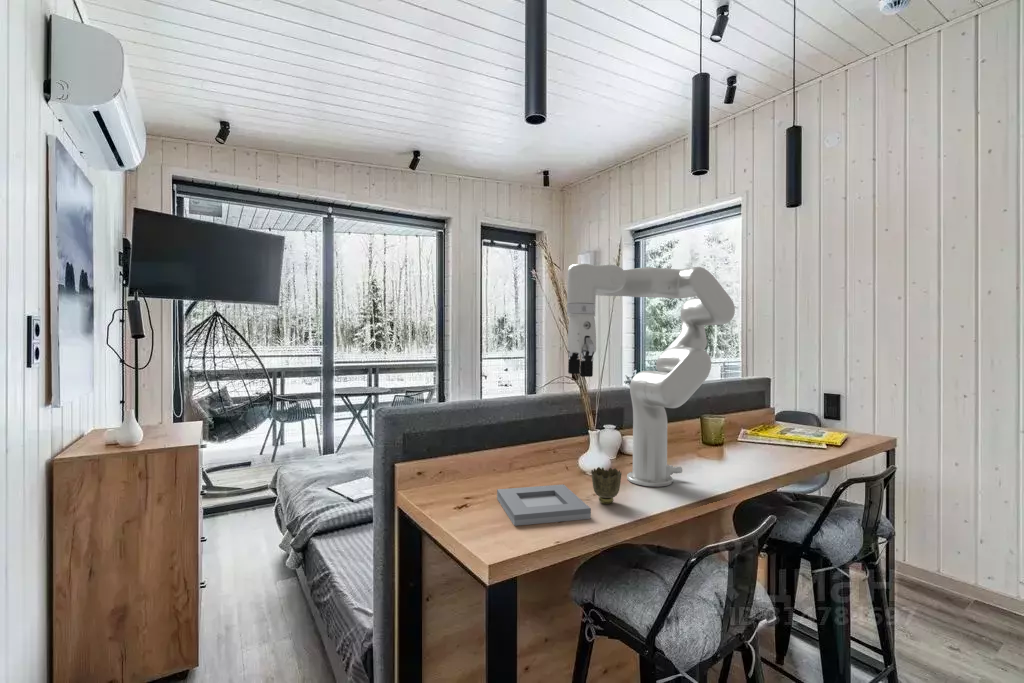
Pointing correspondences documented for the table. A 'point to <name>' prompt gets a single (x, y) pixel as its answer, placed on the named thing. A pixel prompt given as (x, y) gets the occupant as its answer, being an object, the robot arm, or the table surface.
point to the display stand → (542, 504)
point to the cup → (606, 484)
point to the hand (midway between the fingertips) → (579, 375)
